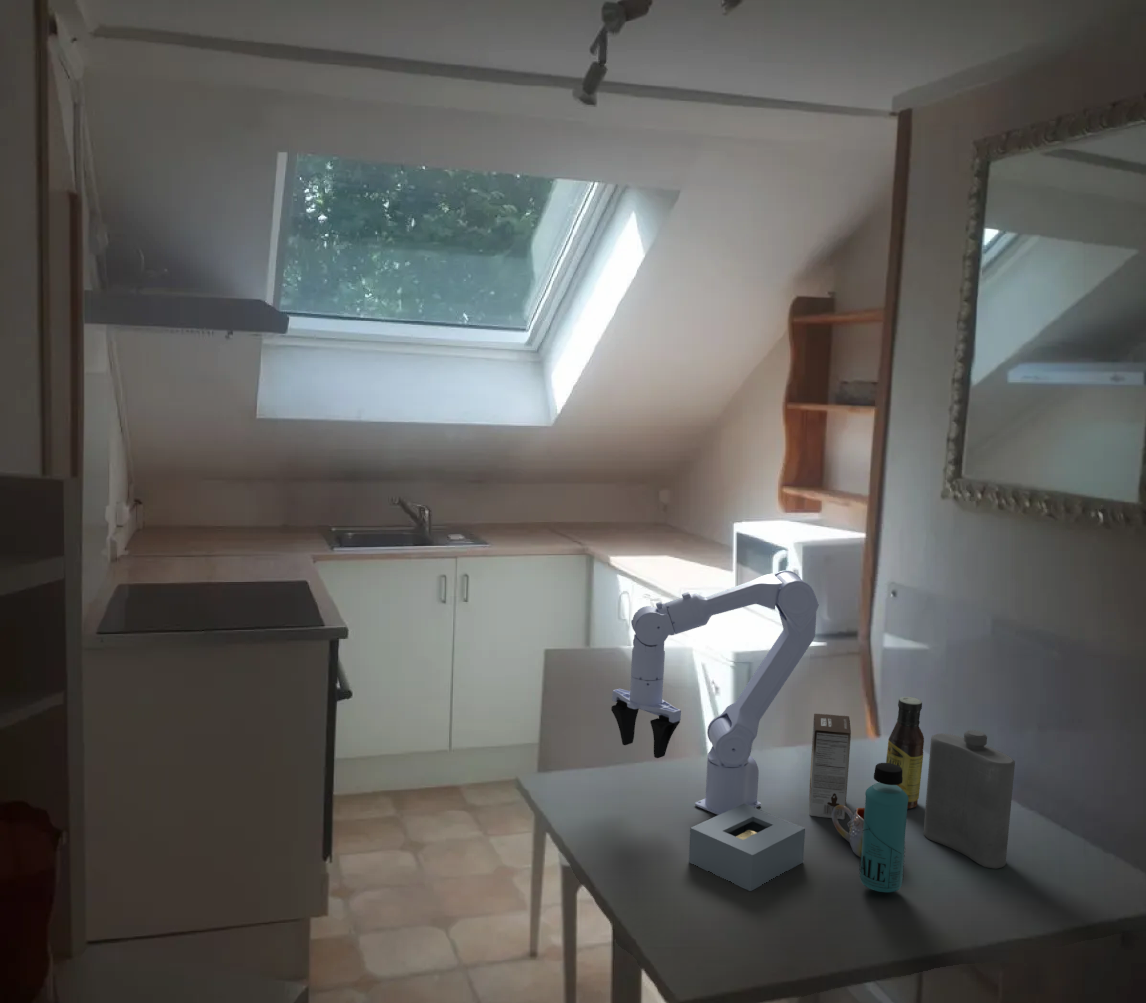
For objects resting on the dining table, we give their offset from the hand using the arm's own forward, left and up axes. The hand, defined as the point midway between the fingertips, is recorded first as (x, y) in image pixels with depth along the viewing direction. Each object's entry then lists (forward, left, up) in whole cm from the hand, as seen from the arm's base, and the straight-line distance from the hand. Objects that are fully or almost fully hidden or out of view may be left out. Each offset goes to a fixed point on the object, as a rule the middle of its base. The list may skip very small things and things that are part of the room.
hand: (643, 750), depth 184 cm
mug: (-16, +34, -11) cm, 39 cm away
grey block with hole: (+3, +25, -10) cm, 27 cm away
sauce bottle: (-37, +30, -11) cm, 49 cm away
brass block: (+3, +25, -10) cm, 27 cm away
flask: (-29, +46, -11) cm, 56 cm away
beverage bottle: (-5, +44, -11) cm, 46 cm away
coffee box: (-25, +22, -11) cm, 35 cm away
